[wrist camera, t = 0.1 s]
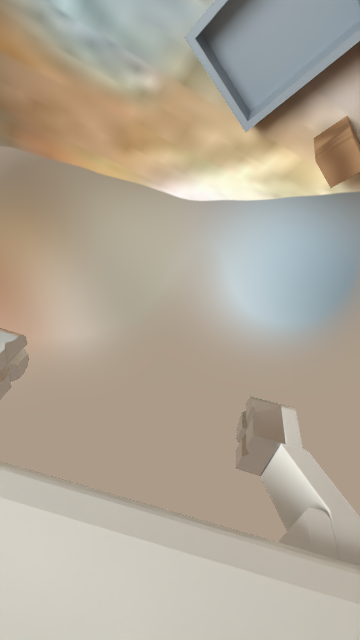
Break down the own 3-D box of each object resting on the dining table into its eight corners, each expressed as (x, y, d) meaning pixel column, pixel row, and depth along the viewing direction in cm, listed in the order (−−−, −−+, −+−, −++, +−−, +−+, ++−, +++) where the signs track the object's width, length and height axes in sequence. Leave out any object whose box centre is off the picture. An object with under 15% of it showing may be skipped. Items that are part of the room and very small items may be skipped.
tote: (323, -129, 31) (326, -135, 28) (374, 16, 38) (381, 23, 35) (192, 29, 43) (184, 37, 40) (248, 119, 49) (245, 132, 46)
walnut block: (346, 115, 46) (352, 137, 41) (360, 144, 49) (367, 168, 44) (313, 138, 49) (315, 160, 45) (327, 164, 52) (330, 188, 47)
